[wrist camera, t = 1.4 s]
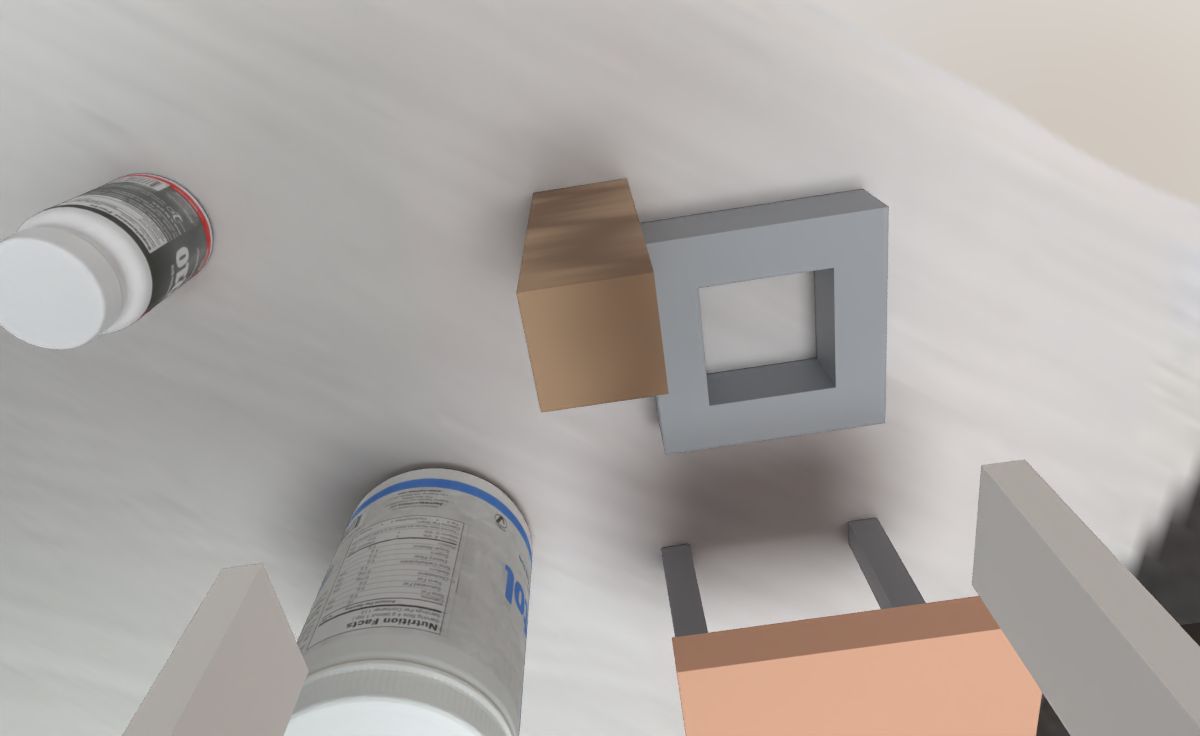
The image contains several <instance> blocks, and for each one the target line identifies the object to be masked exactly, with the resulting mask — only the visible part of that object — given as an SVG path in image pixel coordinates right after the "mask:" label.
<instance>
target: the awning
mask: <svg viewBox="0 0 1200 736" xmlns="http://www.w3.org/2000/svg"><path fill="white" fill-rule="evenodd" d="M849 545H850V547H851V549H852V551H853V554H854V556H855V558H856V560H857V562H858V564H859V566H860V568H861V570H862V572H863V574H864V576H865V578H866V580H867V582H868V584H869V586H870V588H871V590H872V592H873V594H874V596H875V598H876V600H877V602H878V604H879V606H880V608H881V609H880V610H872V611H865V612H858V613H850V614H843V615H836V616H828V617H821V618H814V619H806V620H799V621H792V622H784V623H777V624H769V625H762V626H755V627H747V628H740V629H733V630H725V631H718V632H711V633H708V630H707V626H706V621H705V616H704V612H703V607H702V602H701V597H700V593H699V588H698V583H697V579H696V574H695V569H694V565H693V560H692V555H691V550H690V546H689V544H687V545H680V546H673V547H666V548H661V550H662V557H663V564H664V571H665V577H666V583H667V590H668V596H669V602H670V608H671V614H672V621H673V627H674V633H675V637H674V638H672V643H673V650H674V657H675V664H676V671H677V678H678V685H679V692H680V699H681V706H682V713H683V720H684V726H685V733H686V736H1036V730H1037V723H1038V716H1039V709H1040V702H1041V695H1042V691H1041V690H1040V688H1039V686H1038V685H1037V683H1036V682H1035V680H1034V679H1033V677H1032V676H1031V674H1030V673H1029V671H1028V670H1027V668H1026V667H1025V665H1024V664H1023V662H1022V660H1021V659H1020V657H1019V656H1018V654H1017V653H1016V651H1015V650H1014V648H1013V647H1012V645H1011V644H1010V642H1009V641H1008V639H1007V637H1006V636H1005V634H1004V633H1003V631H1002V630H1001V628H1000V627H999V625H998V624H997V622H996V621H995V619H994V618H993V616H992V615H991V613H990V611H989V610H988V608H987V607H986V605H985V604H984V602H983V601H982V599H981V598H980V596H975V597H968V598H961V599H953V600H946V601H939V602H931V603H925V601H924V599H923V597H922V596H921V594H920V592H919V590H918V589H917V587H916V585H915V583H914V582H913V580H912V578H911V576H910V575H909V573H908V571H907V569H906V568H905V566H904V564H903V562H902V561H901V559H900V557H899V555H898V554H897V552H896V550H895V548H894V547H893V545H892V543H891V541H890V540H889V538H888V536H887V534H886V533H885V531H884V529H883V527H882V526H881V524H880V522H879V520H878V519H877V518H873V519H866V520H859V521H852V522H849Z"/></svg>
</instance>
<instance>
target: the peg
mask: <svg viewBox="0 0 1200 736" xmlns="http://www.w3.org/2000/svg"><path fill="white" fill-rule="evenodd" d="M517 298H518V303H519V308H520V313H521V318H522V322H523V327H524V332H525V337H526V342H527V347H528V352H529V356H530V361H531V366H532V371H533V376H534V381H535V386H536V390H537V395H538V400H539V405H540V410H541V412H548V411H555V410H562V409H569V408H576V407H583V406H589V405H596V404H603V403H610V402H617V401H624V400H631V399H638V398H644V397H651V396H658V395H665V394H669V392H668V384H667V376H666V367H665V359H664V351H663V343H662V335H661V326H660V318H659V310H658V302H657V294H656V286H655V277H654V271H653V268H652V264H651V261H650V257H649V254H648V250H647V247H646V243H645V240H644V237H643V233H642V230H641V226H640V223H639V219H638V216H637V212H636V209H635V205H634V202H633V199H632V195H631V192H630V188H629V185H628V181H627V178H626V179H620V180H613V181H607V182H600V183H594V184H588V185H581V186H575V187H568V188H562V189H555V190H549V191H542V192H536V193H533V198H532V204H531V210H530V216H529V222H528V228H527V234H526V240H525V245H524V251H523V257H522V263H521V269H520V275H519V281H518V287H517Z"/></svg>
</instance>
